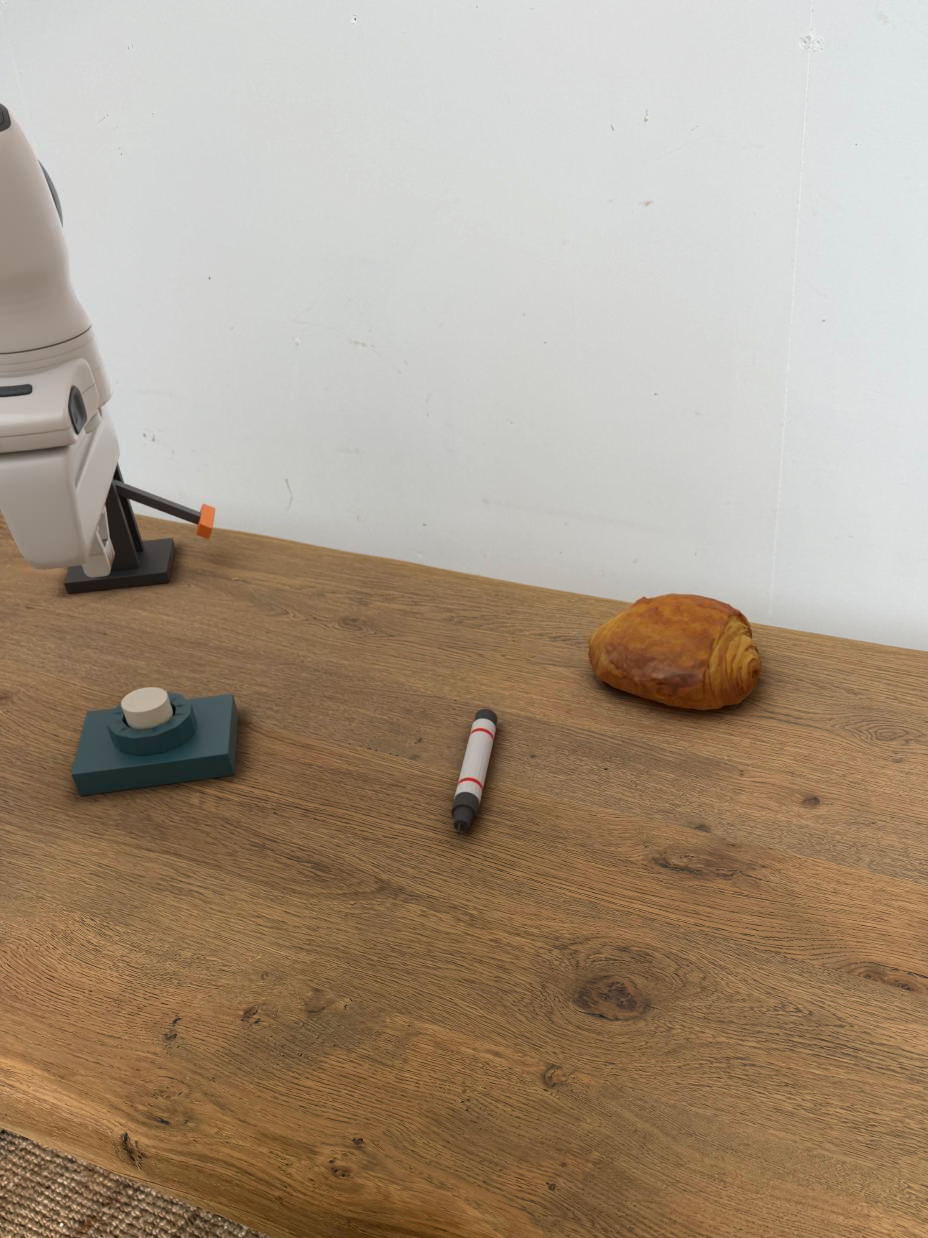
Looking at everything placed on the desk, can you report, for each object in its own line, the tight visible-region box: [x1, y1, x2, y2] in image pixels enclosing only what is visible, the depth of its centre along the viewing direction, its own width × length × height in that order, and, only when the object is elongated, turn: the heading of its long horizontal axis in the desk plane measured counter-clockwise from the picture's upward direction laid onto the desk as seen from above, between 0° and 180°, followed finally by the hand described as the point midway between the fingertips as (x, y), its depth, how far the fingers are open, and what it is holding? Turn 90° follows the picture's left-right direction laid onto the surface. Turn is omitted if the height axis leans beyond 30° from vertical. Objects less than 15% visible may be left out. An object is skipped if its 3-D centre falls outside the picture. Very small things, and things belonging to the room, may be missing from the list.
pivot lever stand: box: [63, 461, 176, 595], centre depth 119 cm, size 10×8×12 cm
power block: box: [70, 691, 240, 797], centre depth 97 cm, size 12×9×4 cm
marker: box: [451, 708, 498, 836], centre depth 94 cm, size 15×2×2 cm, turn 178°
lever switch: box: [114, 479, 216, 540], centre depth 119 cm, size 13×5×2 cm
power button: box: [120, 686, 173, 729], centre depth 95 cm, size 4×4×2 cm
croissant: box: [587, 592, 762, 711], centre depth 104 cm, size 14×16×8 cm
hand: (101, 568), depth 87 cm, fingers closed
